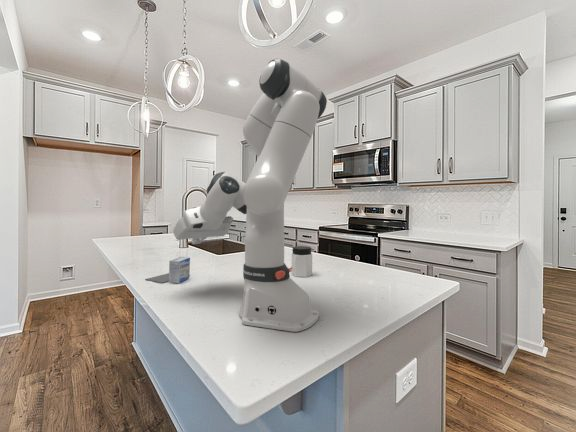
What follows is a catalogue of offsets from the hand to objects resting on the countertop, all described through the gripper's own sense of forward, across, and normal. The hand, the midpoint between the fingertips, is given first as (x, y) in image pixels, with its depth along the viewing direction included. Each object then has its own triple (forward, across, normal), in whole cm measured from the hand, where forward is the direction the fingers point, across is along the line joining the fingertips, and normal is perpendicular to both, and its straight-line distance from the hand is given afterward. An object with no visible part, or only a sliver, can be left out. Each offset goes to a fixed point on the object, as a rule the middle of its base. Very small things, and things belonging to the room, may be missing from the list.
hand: (195, 242), depth 109 cm
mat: (+25, +1, -2) cm, 26 cm away
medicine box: (+20, 0, +3) cm, 20 cm away
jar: (0, -41, +23) cm, 47 cm away
